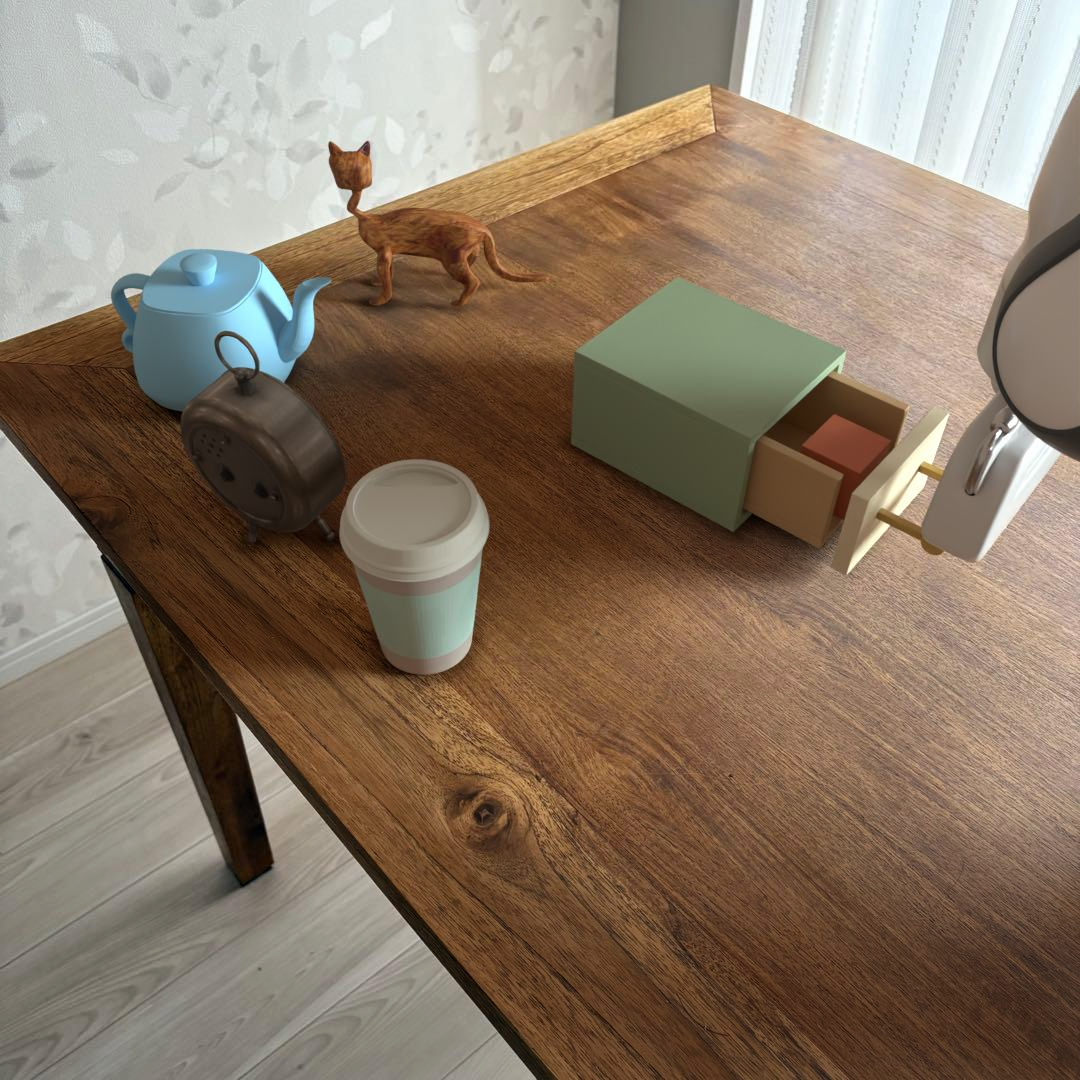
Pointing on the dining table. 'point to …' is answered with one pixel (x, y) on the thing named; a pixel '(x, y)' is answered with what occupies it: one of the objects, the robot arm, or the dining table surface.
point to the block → (846, 454)
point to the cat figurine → (417, 232)
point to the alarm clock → (263, 449)
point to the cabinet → (692, 393)
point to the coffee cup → (417, 559)
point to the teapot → (211, 321)
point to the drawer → (812, 488)
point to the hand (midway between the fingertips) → (990, 521)
